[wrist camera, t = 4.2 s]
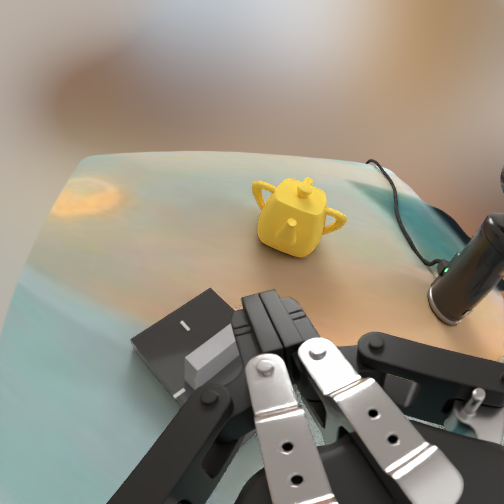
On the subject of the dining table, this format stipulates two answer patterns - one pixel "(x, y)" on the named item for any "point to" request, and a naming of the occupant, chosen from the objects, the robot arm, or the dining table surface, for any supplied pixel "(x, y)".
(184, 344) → the hob panel
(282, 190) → the teapot
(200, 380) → the knob
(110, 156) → the dining table surface
